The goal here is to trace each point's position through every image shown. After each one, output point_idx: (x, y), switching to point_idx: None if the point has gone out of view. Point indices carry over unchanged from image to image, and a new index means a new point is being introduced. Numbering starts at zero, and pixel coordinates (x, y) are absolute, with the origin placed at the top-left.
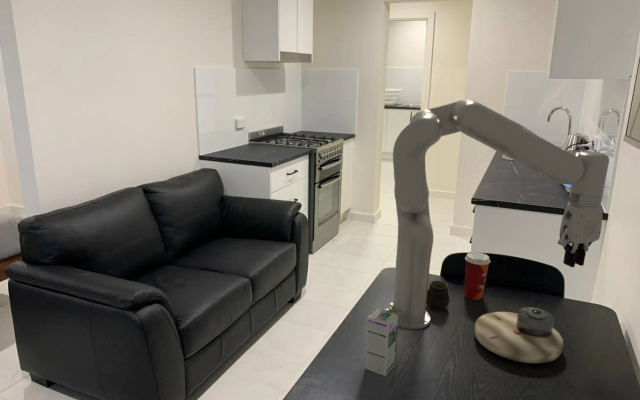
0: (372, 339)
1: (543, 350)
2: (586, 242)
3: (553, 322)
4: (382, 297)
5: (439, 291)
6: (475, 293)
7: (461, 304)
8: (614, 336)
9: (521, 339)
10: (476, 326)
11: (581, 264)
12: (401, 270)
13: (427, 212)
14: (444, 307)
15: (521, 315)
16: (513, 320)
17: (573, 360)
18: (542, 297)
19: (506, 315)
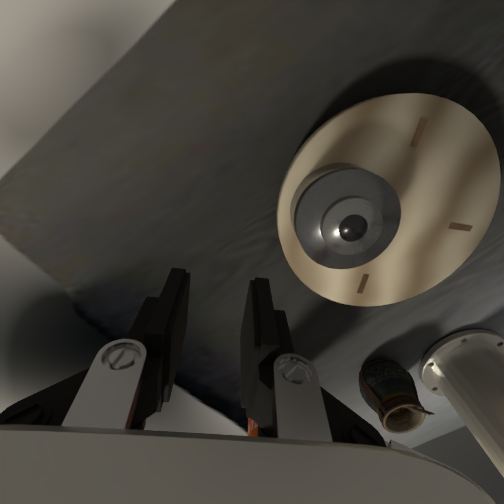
0: None
1: (426, 119)
2: (200, 436)
3: (332, 174)
4: (426, 424)
5: (417, 400)
6: None
7: (323, 360)
8: (96, 97)
9: (415, 188)
10: (442, 278)
11: (187, 275)
12: None
13: None
14: (386, 362)
15: (386, 241)
16: None
17: (324, 79)
18: (119, 315)
19: (332, 282)
